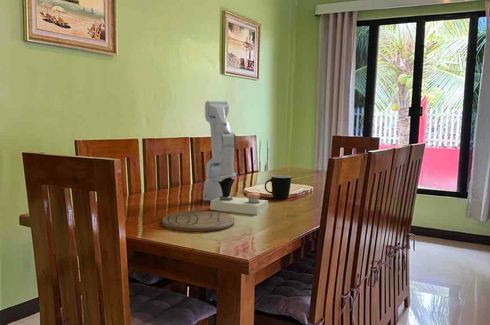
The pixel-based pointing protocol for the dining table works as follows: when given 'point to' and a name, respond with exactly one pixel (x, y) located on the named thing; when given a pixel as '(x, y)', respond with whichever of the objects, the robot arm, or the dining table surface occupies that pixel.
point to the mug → (280, 186)
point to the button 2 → (253, 197)
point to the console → (239, 206)
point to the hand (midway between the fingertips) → (226, 196)
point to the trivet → (198, 221)
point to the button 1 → (226, 198)
